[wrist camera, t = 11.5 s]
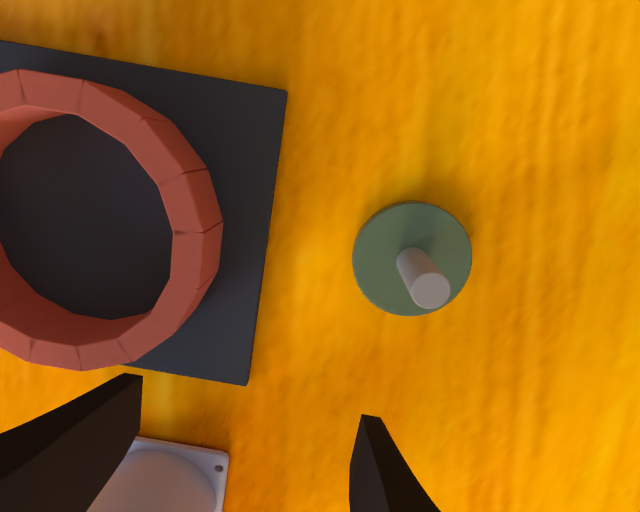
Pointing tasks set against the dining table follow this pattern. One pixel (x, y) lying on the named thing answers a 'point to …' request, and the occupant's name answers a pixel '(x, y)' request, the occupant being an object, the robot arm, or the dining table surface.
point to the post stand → (411, 258)
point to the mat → (143, 206)
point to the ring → (180, 203)
